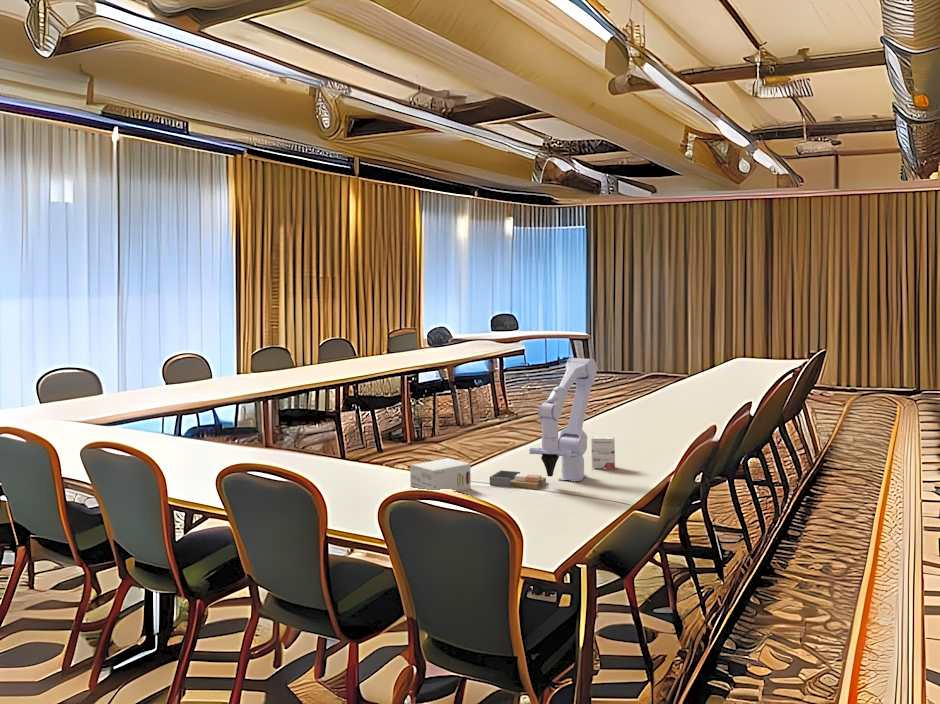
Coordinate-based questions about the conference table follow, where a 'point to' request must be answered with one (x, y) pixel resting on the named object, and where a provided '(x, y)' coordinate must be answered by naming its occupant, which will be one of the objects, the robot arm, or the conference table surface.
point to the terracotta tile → (534, 478)
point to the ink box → (603, 452)
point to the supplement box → (441, 475)
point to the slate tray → (503, 478)
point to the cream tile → (521, 477)
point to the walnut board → (527, 484)
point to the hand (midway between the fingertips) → (550, 475)
